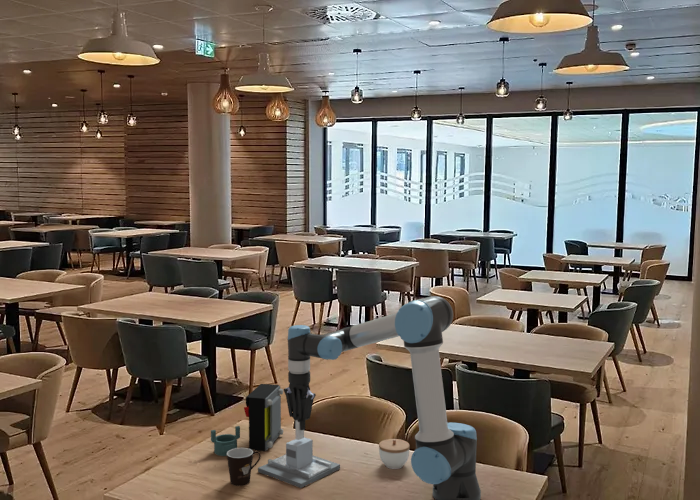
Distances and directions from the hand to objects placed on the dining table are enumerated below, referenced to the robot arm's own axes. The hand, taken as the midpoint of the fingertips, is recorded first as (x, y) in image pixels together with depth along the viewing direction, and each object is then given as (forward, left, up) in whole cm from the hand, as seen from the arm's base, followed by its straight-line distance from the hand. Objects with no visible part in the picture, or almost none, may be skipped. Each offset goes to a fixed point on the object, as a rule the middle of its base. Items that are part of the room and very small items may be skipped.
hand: (299, 438), depth 238 cm
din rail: (0, 0, -10) cm, 10 cm away
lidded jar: (-23, -24, -12) cm, 35 cm away
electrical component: (+28, -11, -12) cm, 32 cm away
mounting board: (0, 0, -12) cm, 12 cm away
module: (0, 0, -9) cm, 9 cm away
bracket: (+32, +5, -12) cm, 35 cm away
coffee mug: (+8, +18, -12) cm, 23 cm away
